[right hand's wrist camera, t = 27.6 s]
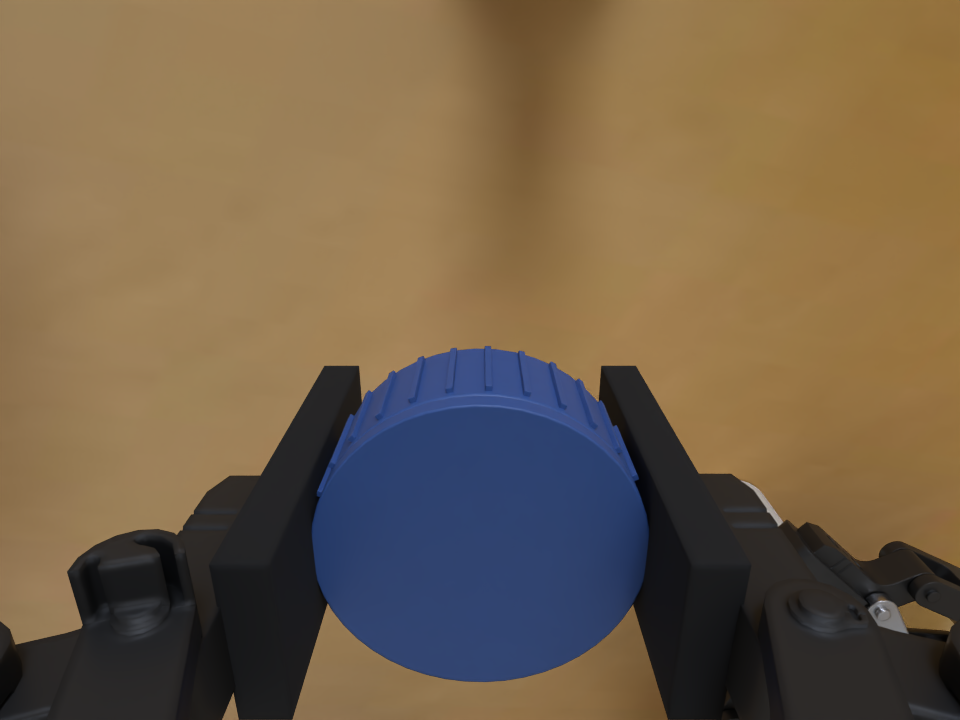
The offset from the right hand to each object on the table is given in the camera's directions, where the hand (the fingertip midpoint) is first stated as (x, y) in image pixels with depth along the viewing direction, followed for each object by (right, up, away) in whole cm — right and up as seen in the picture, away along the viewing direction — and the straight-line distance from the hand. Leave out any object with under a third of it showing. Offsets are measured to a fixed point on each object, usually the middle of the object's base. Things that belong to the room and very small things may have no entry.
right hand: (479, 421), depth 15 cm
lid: (0, -2, -4) cm, 4 cm away
